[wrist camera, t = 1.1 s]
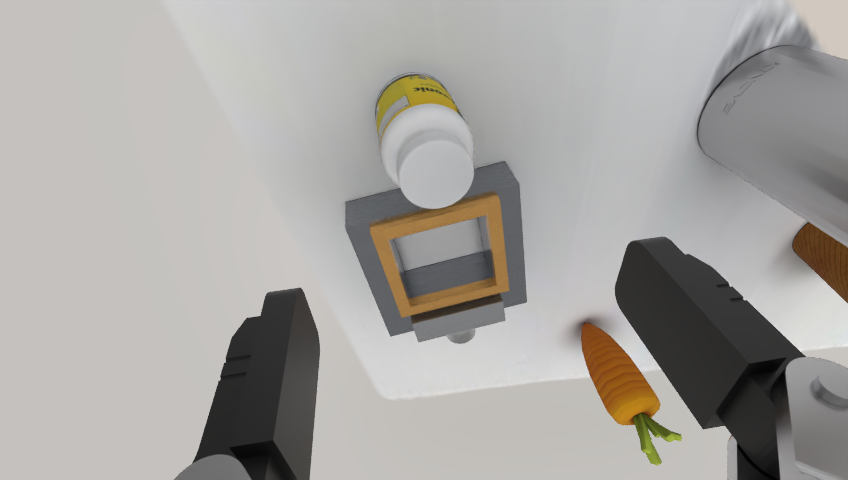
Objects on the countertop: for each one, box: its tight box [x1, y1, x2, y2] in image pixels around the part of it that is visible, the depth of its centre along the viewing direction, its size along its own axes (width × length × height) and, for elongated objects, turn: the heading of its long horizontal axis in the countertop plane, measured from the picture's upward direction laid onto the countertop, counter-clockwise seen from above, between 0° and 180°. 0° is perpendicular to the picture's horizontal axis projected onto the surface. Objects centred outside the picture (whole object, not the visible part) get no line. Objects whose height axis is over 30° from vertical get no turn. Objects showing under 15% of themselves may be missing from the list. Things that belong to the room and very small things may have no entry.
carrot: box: [581, 323, 682, 465], centre depth 41 cm, size 5×5×15 cm
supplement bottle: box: [375, 73, 474, 209], centre depth 25 cm, size 5×5×10 cm
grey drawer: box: [345, 162, 527, 344], centre depth 36 cm, size 13×17×5 cm
